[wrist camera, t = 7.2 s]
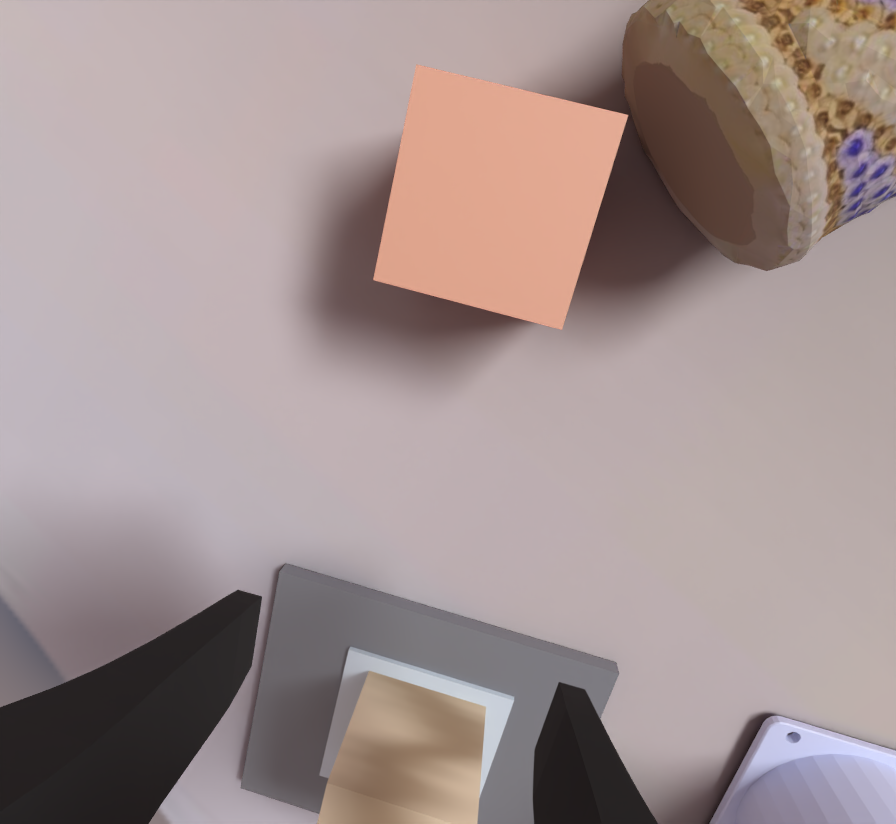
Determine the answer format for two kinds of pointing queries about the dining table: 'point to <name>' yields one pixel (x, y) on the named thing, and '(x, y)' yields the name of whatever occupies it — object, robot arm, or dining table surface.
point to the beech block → (407, 758)
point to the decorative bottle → (766, 116)
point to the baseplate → (407, 659)
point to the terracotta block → (495, 195)
